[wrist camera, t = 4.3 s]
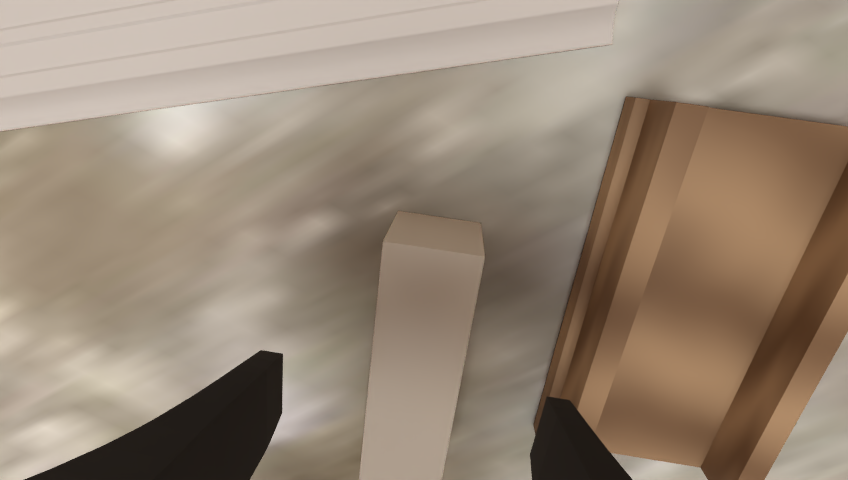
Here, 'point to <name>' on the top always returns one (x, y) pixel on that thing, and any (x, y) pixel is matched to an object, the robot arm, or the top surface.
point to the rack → (707, 286)
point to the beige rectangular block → (419, 344)
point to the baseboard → (256, 47)
